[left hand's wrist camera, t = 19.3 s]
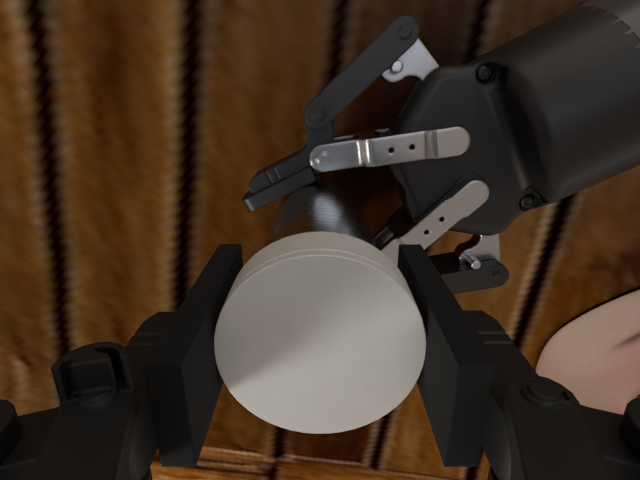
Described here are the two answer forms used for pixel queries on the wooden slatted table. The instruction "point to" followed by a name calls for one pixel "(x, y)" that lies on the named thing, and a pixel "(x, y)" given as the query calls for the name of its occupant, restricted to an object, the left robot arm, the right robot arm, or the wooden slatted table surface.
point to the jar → (322, 209)
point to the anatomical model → (598, 355)
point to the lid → (320, 334)
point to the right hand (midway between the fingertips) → (274, 245)
